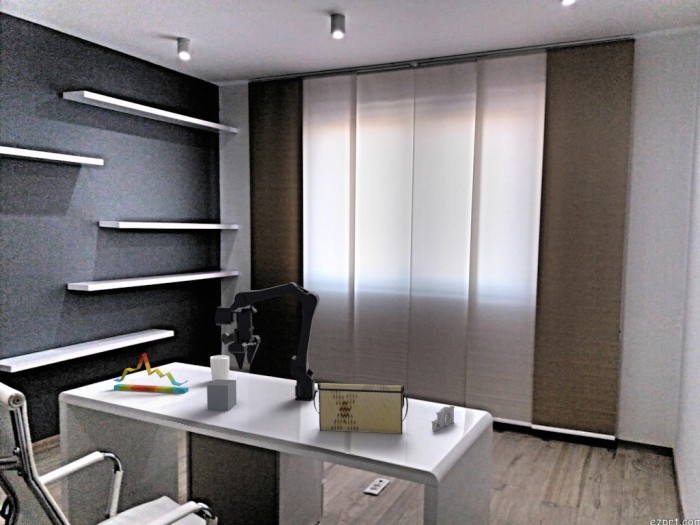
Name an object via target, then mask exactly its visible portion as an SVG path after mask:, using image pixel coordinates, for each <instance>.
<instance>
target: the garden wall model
mask: <svg viewBox="0 0 700 525" xmlns="http://www.w3.org/2000/svg"><path fill="white" fill-rule="evenodd" d="M435 414H436V415H437V416H436V419H434V420H433V421H432V420H431V429H432V432H433V431H434V432H437V431H438V430H440V429H443V428H445V427H448V426H450V425H451V424H452V423H454V421H455V406H454V405H453V404H452V405H450V406H444V407H442V408H441V409H440V410H439V411H438V412H435Z"/></svg>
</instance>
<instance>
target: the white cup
mask: <svg viewBox="0 0 700 525" xmlns="http://www.w3.org/2000/svg"><path fill="white" fill-rule="evenodd" d="M209 358H210V360H209V361H210V371H211V373H210V375H211V382H212V381H214V380H216V379H222V380H230V378H229V377H230V355H226V354H225V355H224V354H223V355H222V354H217V355H213V356H210V357H209Z"/></svg>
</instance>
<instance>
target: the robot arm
mask: <svg viewBox="0 0 700 525" xmlns="http://www.w3.org/2000/svg"><path fill="white" fill-rule="evenodd" d="M286 295H291V296H292V297H294V298H295V299H296V300H297V301H298V302H300V303H301V309H302V311H301V312H302V322H301V329H300V333H299V334H300V335H299V341H298V346H297V353H296V355H293V356H292V357H291V360H290V364H291V365H290V368H289V371H290V374H291V376H292V377H293V378H294V379H295V380H296V385H295V386H294V396H295V398H294V400H297V401H299V400H300V401H313V396H314V393H315V390H316V388H315V385H316V382H315V380H313V379H314V377H315V372H314V371H313V370H312V369H311V368H310V364H309V363H310V362H309V350H310V343H311V336H312V330H313V329H312V328H313V323H314V317H315V315H316V311H317V309H318V306H319V303H320V301H321V300H320V296H319V294H318V293H317V292H315V291H309V290H308V289H306V288H305V287H302V286H300V285H298V284H297V283H296V282H292V281H291V282H289V283H286V284H281V285H277V286H272V287H269V288H264V289H259V290H258V289H256V290H255V289H254V290H252V289H251V290H242V291H239V292H237V293H236V294H235V295H234V298H233V302H232V304H231V305H230V306H217V307H216V311H215V316H214V322H215V325H216V326H232V325H233V324H234V323H236V325H235V326H236V327H235V328H234V329H233V332H230V333H228V332H224V333H222V334H221V336H220V342H222V344H223V345H224V346H225V345H227V344H229V343H230V344H229V345H228V346H227V352H228V353H229V354H231V355H233V357H234V359H235V360H236V364H237V366H238V369H239V370H243V367H244V365H245V362H246V360H247V364H250V365H251V364H252V363H253V359H254V357H255V354H256V353H257V350H258V347H259V346H260V343H262V342H261V337H260V335H253V330H255V327H254V326H253V317H252V314H255V313H257V312H258V310H257V309H256V308H255V307H254V305H253V304H255V303H258V302H259V301H263V300H267V299H268V300H269V299H272V298H277V297H281V296H286ZM250 305H251V306H250ZM248 306H250V307H249V308H248ZM238 309H241V310H238ZM231 342H232V343H231ZM316 396H317V394H316V395H315V397H316Z"/></svg>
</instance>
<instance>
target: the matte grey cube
mask: <svg viewBox="0 0 700 525" xmlns="http://www.w3.org/2000/svg"><path fill="white" fill-rule="evenodd" d="M206 397H207V398H206V399H207V400H206V401H207V403H206V404H207V410H208V411H223V412H225V411H226V412H229V411H230V410H231V409H232V408H234V407H235V406H237V402H238V401H237V379H229V380H222V379H216V380H214V381H212V380H211V382H209V383H208V384H206Z"/></svg>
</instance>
